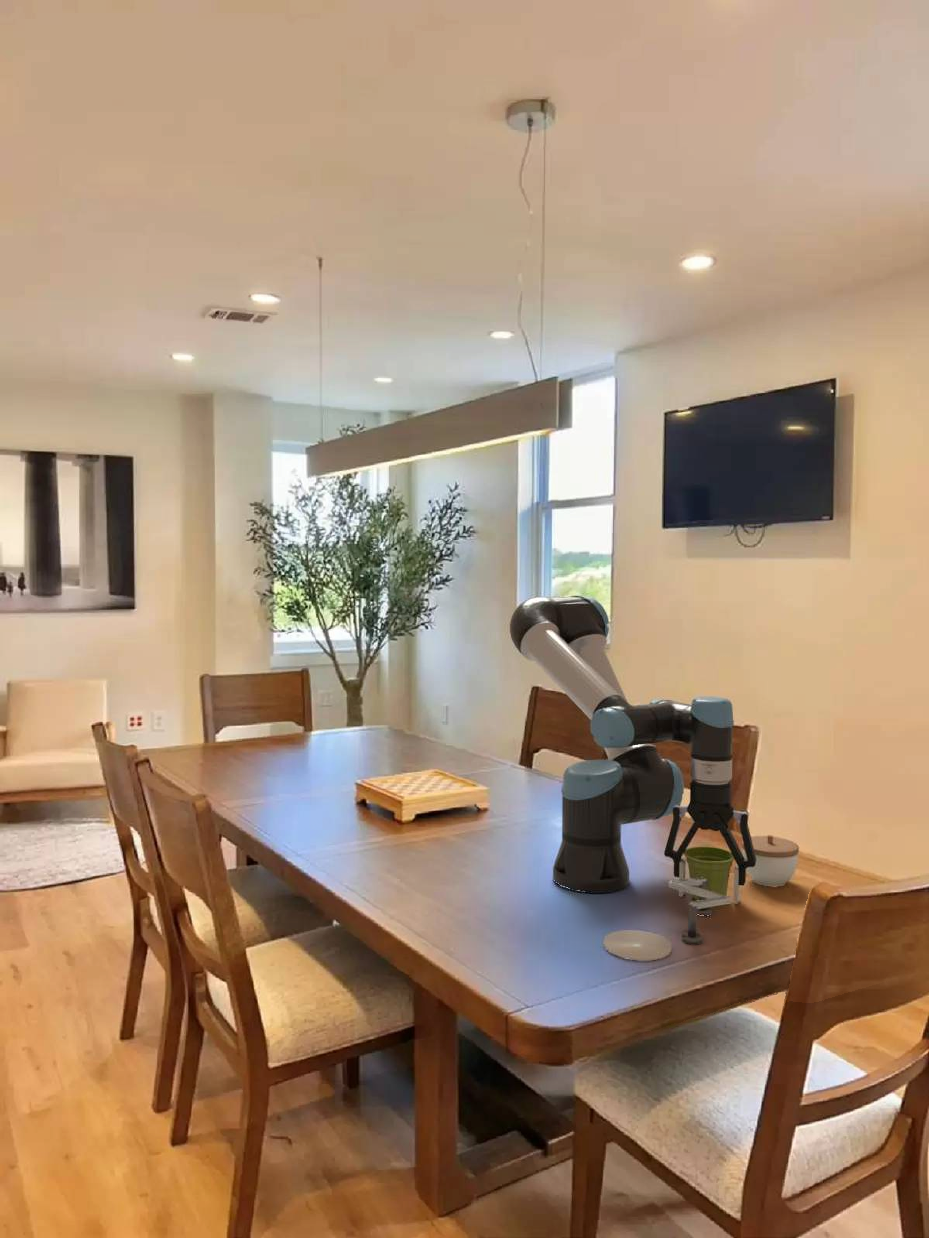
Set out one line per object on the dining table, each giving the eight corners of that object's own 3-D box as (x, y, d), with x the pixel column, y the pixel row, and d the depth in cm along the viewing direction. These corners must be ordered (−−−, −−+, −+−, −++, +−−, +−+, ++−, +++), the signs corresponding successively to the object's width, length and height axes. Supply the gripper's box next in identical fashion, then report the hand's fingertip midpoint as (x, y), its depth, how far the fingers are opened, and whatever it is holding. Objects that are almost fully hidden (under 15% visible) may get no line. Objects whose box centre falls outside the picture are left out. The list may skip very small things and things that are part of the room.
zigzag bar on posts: (656, 938, 153) (657, 900, 153) (672, 905, 168) (673, 870, 168) (725, 949, 149) (726, 910, 148) (735, 914, 164) (736, 878, 163)
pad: (596, 954, 147) (596, 950, 147) (611, 929, 157) (611, 925, 157) (664, 965, 143) (665, 962, 143) (676, 939, 153) (676, 935, 153)
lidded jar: (761, 893, 174) (762, 845, 174) (730, 875, 185) (731, 830, 184) (809, 888, 177) (810, 841, 177) (776, 870, 188) (777, 826, 187)
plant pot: (675, 901, 170) (676, 855, 170) (693, 886, 178) (693, 842, 178) (725, 911, 165) (726, 864, 165) (740, 896, 173) (741, 851, 173)
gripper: (648, 779, 171) (646, 896, 172) (771, 790, 163) (768, 912, 164) (655, 770, 178) (654, 883, 179) (774, 781, 170) (771, 898, 171)
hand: (708, 897), depth 172 cm, fingers open, 9 cm apart
